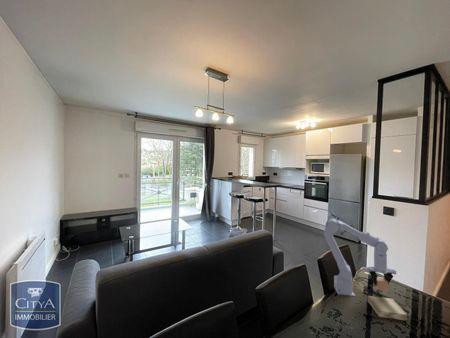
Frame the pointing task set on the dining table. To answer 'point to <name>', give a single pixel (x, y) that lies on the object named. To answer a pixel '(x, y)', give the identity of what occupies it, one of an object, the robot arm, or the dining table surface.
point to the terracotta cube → (382, 284)
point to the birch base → (387, 308)
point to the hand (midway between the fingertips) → (380, 285)
